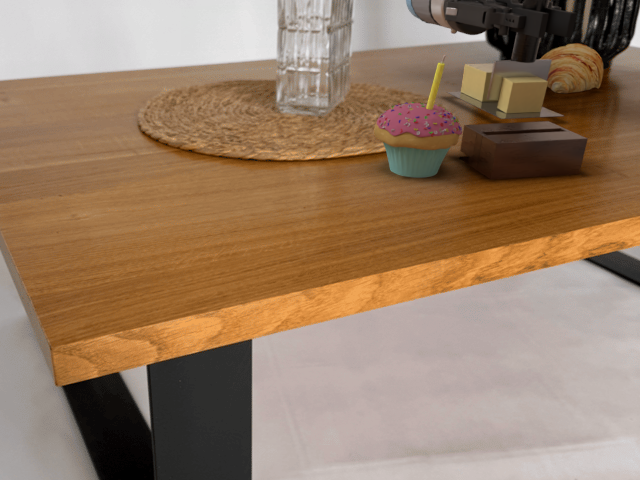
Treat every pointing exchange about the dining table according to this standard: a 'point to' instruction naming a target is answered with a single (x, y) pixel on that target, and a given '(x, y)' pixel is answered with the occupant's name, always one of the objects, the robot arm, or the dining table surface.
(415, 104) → the cupcake
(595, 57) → the croissant
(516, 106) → the butter pat
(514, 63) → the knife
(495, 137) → the knife block
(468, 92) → the butter board
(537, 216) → the dining table surface
